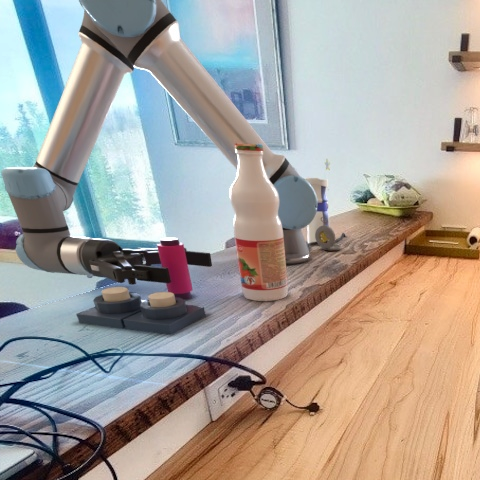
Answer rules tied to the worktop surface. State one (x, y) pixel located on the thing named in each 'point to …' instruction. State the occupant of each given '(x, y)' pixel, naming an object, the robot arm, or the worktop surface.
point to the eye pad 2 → (162, 299)
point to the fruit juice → (257, 228)
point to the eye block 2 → (164, 317)
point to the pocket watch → (326, 237)
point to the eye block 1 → (111, 311)
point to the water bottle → (319, 205)
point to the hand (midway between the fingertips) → (190, 267)
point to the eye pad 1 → (115, 294)
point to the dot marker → (175, 267)
